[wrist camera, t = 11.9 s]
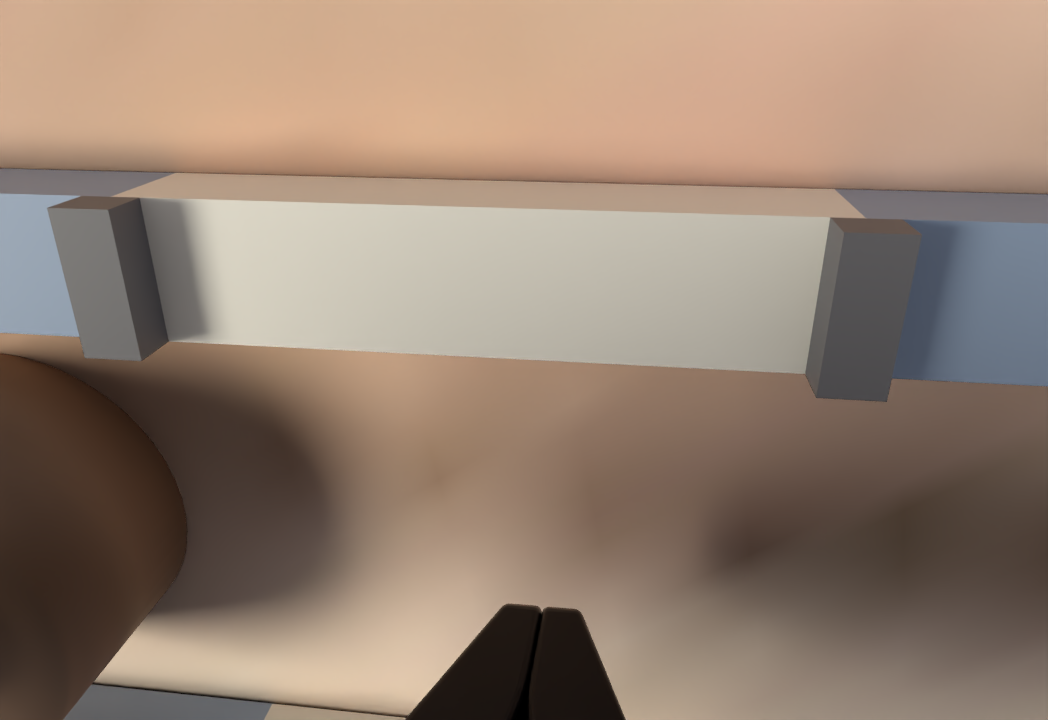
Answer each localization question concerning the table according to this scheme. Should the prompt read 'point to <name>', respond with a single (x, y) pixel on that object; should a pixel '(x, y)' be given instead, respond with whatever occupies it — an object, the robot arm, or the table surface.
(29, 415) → the pawn
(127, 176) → the lane
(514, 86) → the table surface
